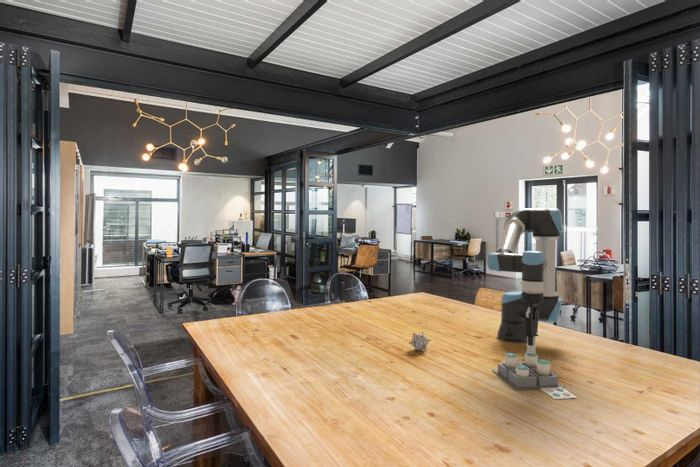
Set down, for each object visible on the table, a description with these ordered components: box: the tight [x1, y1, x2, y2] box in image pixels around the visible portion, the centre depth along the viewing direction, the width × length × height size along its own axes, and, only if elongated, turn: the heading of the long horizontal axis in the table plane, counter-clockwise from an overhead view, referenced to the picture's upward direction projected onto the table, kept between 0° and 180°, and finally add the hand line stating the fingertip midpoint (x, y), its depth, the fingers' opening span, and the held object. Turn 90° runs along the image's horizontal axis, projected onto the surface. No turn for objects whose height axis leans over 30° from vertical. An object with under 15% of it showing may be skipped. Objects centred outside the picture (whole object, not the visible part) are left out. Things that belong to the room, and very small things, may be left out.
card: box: [539, 387, 578, 400], centre depth 137 cm, size 8×8×1 cm
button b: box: [504, 352, 518, 369], centre depth 153 cm, size 4×4×5 cm
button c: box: [536, 358, 551, 376], centre depth 145 cm, size 4×4×5 cm
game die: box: [408, 331, 431, 353], centre depth 181 cm, size 9×8×10 cm
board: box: [492, 361, 566, 391], centre depth 149 cm, size 18×18×4 cm
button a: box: [516, 365, 529, 377], centre depth 145 cm, size 4×4×5 cm
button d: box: [524, 351, 538, 368], centre depth 153 cm, size 4×4×5 cm
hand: (531, 353), depth 153 cm, fingers closed
